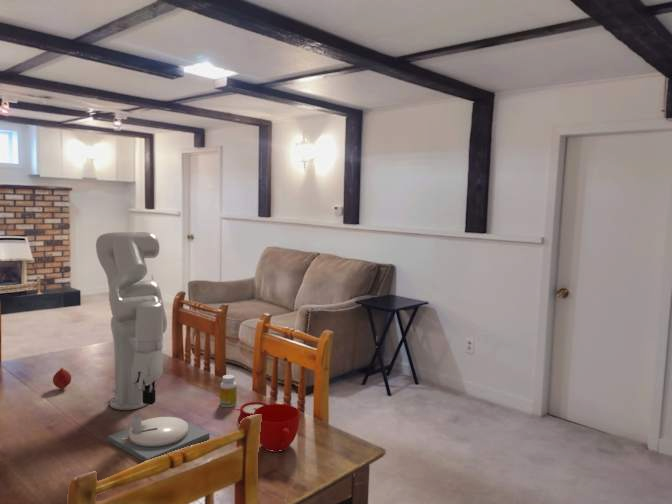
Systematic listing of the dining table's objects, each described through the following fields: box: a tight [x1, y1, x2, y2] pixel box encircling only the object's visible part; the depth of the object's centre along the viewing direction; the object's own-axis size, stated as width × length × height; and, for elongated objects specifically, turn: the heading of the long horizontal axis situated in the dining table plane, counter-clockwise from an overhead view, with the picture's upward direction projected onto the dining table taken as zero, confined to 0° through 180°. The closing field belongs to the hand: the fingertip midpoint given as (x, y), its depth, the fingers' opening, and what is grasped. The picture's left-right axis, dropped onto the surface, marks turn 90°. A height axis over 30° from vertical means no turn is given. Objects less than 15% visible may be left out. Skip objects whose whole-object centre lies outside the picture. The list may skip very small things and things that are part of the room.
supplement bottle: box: [219, 374, 238, 408], centre depth 178 cm, size 5×5×10 cm
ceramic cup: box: [254, 403, 301, 451], centre depth 147 cm, size 13×17×10 cm
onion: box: [52, 367, 72, 390], centre depth 187 cm, size 6×6×8 cm
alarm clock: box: [233, 401, 268, 423], centre depth 166 cm, size 10×6×15 cm
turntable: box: [129, 414, 188, 447], centre depth 151 cm, size 16×16×6 cm
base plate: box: [107, 413, 210, 462], centre depth 151 cm, size 20×20×2 cm
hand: (149, 402), depth 157 cm, fingers closed
